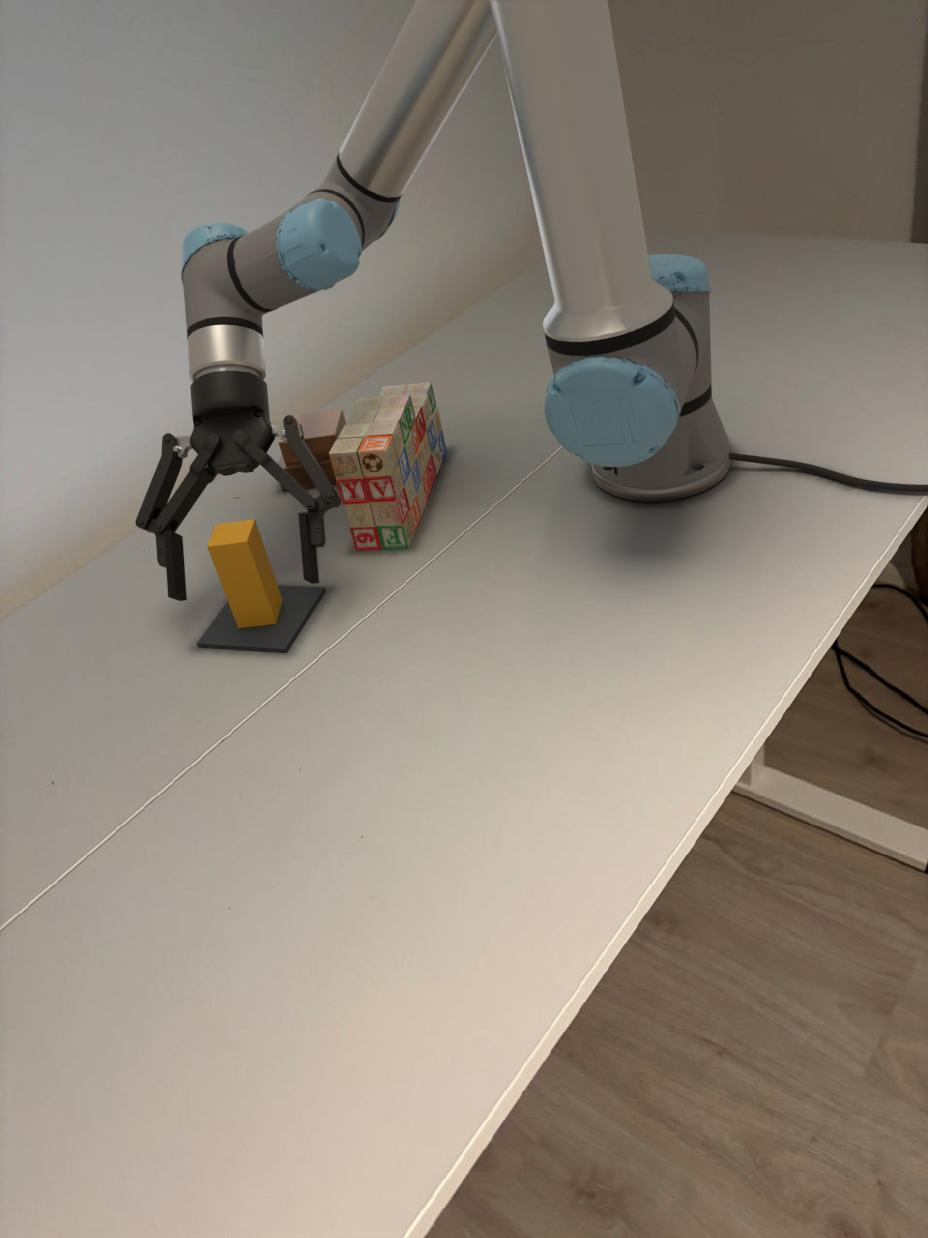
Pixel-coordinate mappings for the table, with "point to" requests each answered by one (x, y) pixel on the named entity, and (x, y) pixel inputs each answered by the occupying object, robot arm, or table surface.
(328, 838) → the table surface
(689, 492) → the robot arm
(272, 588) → the bar
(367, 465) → the stack of blocks
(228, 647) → the mat
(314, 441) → the dark wooden step block
